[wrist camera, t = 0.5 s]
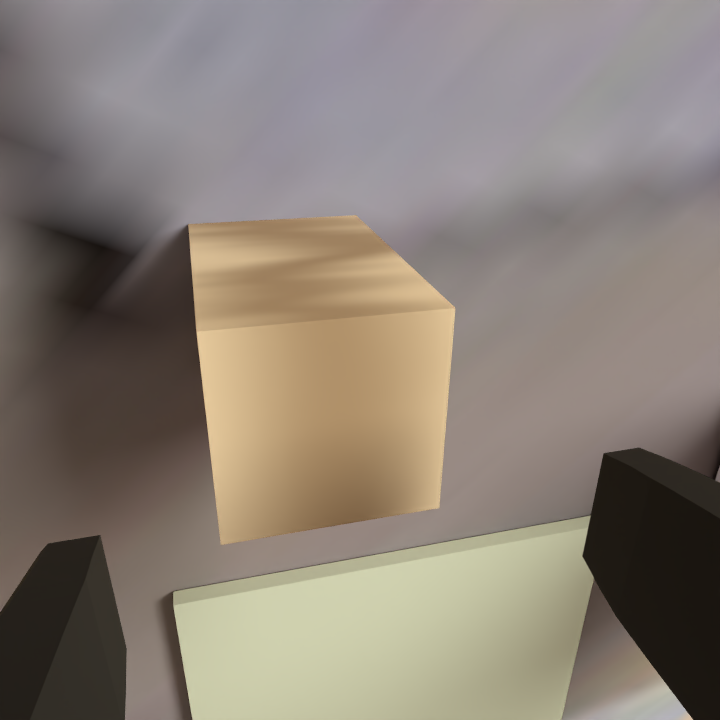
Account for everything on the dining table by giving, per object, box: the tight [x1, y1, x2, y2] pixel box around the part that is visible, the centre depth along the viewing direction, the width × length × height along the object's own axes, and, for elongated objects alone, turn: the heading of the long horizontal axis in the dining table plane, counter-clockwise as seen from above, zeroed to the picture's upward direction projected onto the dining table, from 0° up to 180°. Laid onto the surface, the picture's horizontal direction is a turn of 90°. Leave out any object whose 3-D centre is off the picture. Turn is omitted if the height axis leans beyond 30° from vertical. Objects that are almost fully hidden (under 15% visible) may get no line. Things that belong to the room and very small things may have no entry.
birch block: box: [188, 215, 455, 545], centre depth 15 cm, size 4×4×7 cm
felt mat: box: [173, 516, 594, 720], centre depth 26 cm, size 16×14×1 cm
